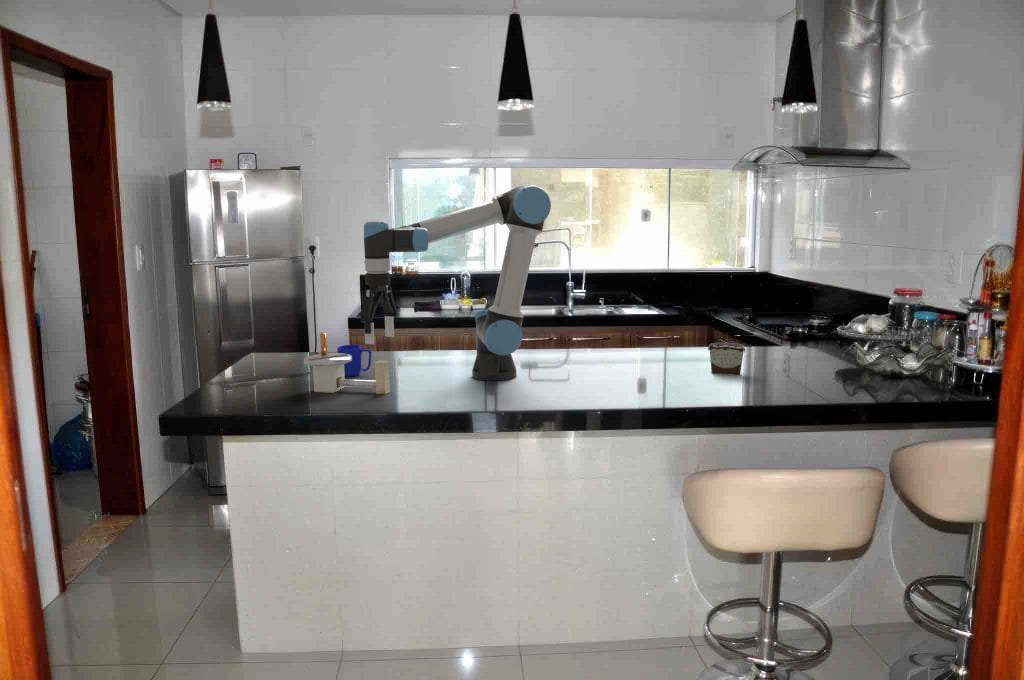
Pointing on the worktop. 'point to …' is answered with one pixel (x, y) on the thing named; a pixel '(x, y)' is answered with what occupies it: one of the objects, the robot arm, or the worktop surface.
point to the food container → (726, 358)
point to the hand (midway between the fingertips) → (380, 340)
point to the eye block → (327, 378)
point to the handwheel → (327, 356)
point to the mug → (354, 359)
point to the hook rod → (380, 384)
